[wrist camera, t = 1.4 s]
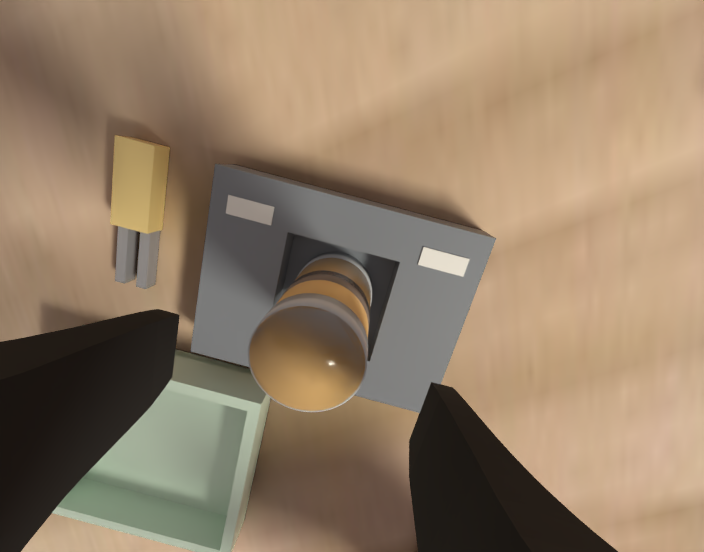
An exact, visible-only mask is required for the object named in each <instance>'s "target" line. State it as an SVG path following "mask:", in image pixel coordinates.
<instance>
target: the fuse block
mask: <svg viewBox="0 0 704 552" xmlns="http://www.w3.org/2000/svg"><path fill="white" fill-rule="evenodd" d="M495 240H496V238H494V237H493V236H491V235H489V234H488V233H486V232H484V231H483V230H479V229H475V228H471V227H467V226H464V225H460V224H456V223H452V222H449V221H445V220H441V219H437V218H434V217H430V216H426V215H422V214H419V213H415V212H411V211H407V210H404V209H400V208H396V207H392V206H389V205H385V204H381V203H377V202H374V201H370V200H366V199H362V198H359V197H355V196H351V195H347V194H344V193H340V192H336V191H332V190H329V189H325V188H321V187H317V186H313V185H310V184H306V183H302V182H298V181H295V180H291V179H287V178H283V177H280V176H276V175H272V174H268V173H265V172H261V171H257V170H253V169H250V168H246V167H242V166H238V165H235V164H215V169H214V177H213V185H212V192H211V200H210V207H209V215H208V223H207V230H206V238H205V245H204V253H203V261H202V268H201V276H200V283H199V291H198V299H197V306H196V314H195V321H194V329H193V337H192V344H191V352H195V353H198V354H202V355H206V356H210V357H213V358H217V359H221V360H224V361H228V362H232V363H236V364H239V365H243V366H247V367H249V362H248V345H249V342H250V338H251V336H252V333H253V331H254V330H255V328H256V327H257V325H258V324H259V323H260V321H261V320H262V319H263V318H264V316H265V315H266V314H267V313H268V312H269V310H270V309H271V308H272V307H273V306H274V305H276V304H277V302H278V301H279V299H280V298H281V296H282V295H283V294H284V292H285V291H286V290H287V289H288V287H289V286H290V285H291V284H292V283H293V282H294V281H295V279H296V278H297V276H298V274H299V272H300V271H301V270H302V269H303V267H304V266H305V265H306V264H307V262H309V261H310V260H311V259H312V258H314V257H315V256H317V255H319V254H322V253H326V252H342V253H346V254H348V255H351V256H353V257H354V258H356V259H357V260H359V261H360V262H361V263H362V264H363V265H364V266H365V268H366V269H367V270H368V272H369V274H370V277H371V280H372V286H373V291H372V302H371V306H370V321H369V333H368V357H367V370H366V374H365V378H364V380H363V383H362V385H361V386H360V388H359V390H358V391H357V392H356V394H355V396H359V397H362V398H366V399H370V400H374V401H377V402H381V403H385V404H389V405H392V406H396V407H400V408H403V409H407V410H411V411H415V412H418V413H420V411H421V408H422V406H423V403H424V400H425V398H426V395H427V392H428V389H429V387H430V384H431V382H433V383H437V384H441V382H442V379H443V377H444V374H445V371H446V369H447V366H448V363H449V361H450V358H451V356H452V353H453V350H454V348H455V345H456V342H457V340H458V337H459V335H460V332H461V329H462V327H463V324H464V321H465V319H466V316H467V314H468V311H469V308H470V306H471V303H472V300H473V298H474V295H475V293H476V290H477V287H478V285H479V282H480V279H481V277H482V274H483V272H484V269H485V266H486V264H487V261H488V258H489V256H490V253H491V251H492V248H493V245H494V243H495Z"/></svg>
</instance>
